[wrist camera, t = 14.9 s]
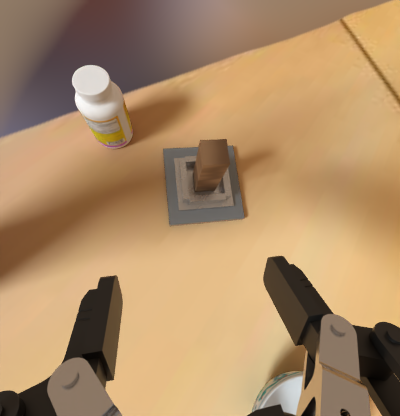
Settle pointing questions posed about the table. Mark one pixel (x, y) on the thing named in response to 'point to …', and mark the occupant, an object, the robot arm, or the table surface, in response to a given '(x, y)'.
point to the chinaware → (281, 392)
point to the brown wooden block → (210, 164)
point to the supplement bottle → (102, 106)
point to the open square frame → (199, 199)
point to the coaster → (201, 214)
